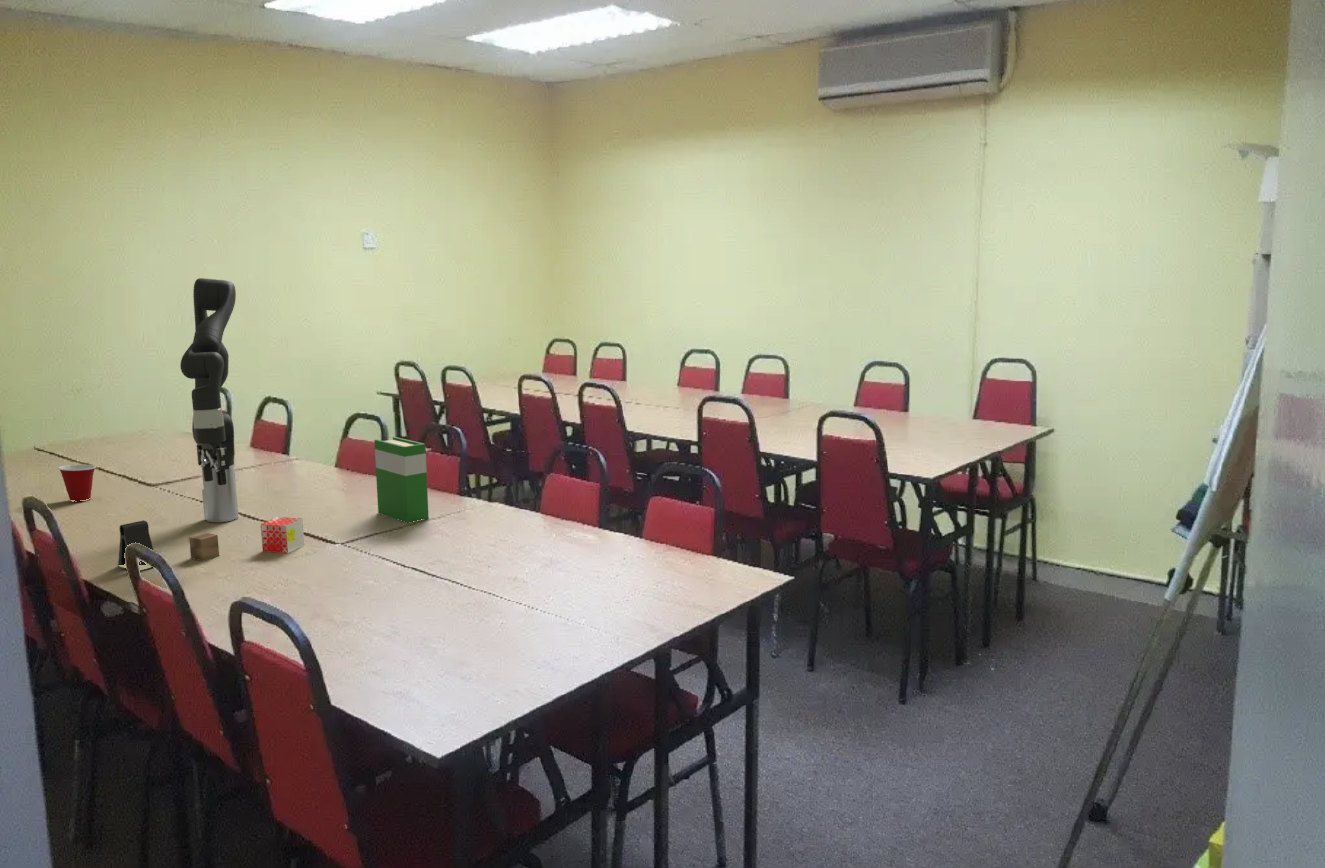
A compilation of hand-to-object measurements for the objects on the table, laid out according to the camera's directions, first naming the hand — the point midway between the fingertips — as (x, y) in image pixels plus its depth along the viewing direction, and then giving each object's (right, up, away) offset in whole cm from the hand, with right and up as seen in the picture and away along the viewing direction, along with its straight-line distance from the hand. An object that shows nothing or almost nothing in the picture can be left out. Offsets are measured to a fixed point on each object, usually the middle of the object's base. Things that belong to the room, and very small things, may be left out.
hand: (215, 482), depth 261 cm
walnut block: (-1, -20, -4) cm, 20 cm away
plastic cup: (-73, -9, +58) cm, 94 cm away
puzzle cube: (+17, -19, +5) cm, 26 cm away
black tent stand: (-15, -22, -12) cm, 29 cm away
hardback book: (+41, -13, +39) cm, 58 cm away
